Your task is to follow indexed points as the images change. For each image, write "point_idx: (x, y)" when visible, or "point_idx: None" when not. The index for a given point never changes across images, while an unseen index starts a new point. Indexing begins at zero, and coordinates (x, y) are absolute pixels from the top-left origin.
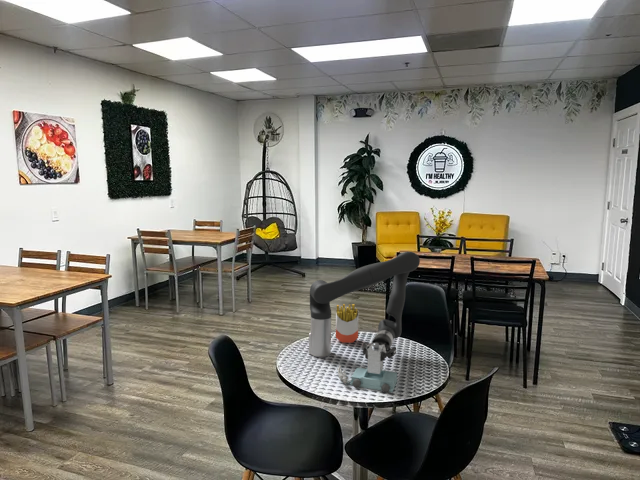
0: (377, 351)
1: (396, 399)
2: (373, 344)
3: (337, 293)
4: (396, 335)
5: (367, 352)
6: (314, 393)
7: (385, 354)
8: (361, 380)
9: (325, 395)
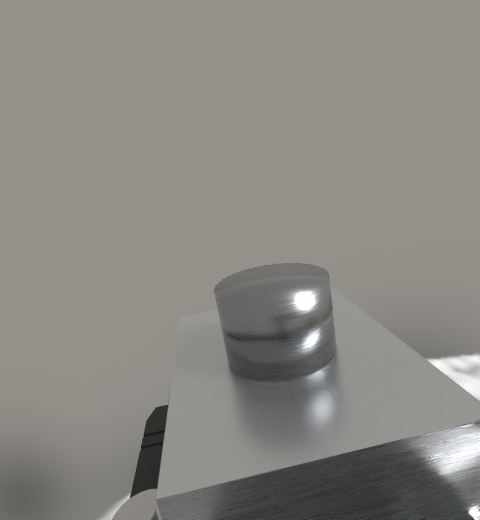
0: (216, 312)
1: (110, 515)
2: (291, 264)
3: None
4: None
5: None
6: (475, 354)
7: (133, 485)
8: None
9: None
